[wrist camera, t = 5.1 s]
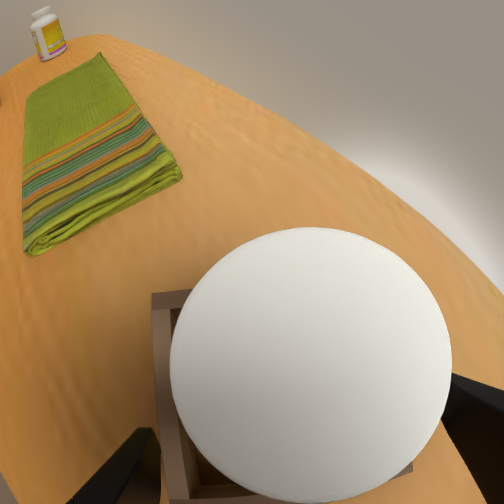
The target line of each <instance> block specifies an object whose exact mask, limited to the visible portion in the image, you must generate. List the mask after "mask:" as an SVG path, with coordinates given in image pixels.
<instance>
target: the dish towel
mask: <svg viewBox="0 0 504 504" xmlns="http://www.w3.org/2000/svg"><path fill="white" fill-rule="evenodd" d="M24 129H25V134H24V146H23V167H22V168H23V175H22V218H23V246H22V247H23V251H24V252H25V253H26V254H27V255H29V256H30V257H35V256H37V255H40V254H42V253H44V252H45V251H47V250H48V249H50V248H53V247H54V246H56V245H58V244H60V243H62V242H64V241H65V240H67V239H69V238H71V237H72V236H74V235H76V234H78V233H80V232H82V231H84V230H86V229H88V228H89V227H91V226H93V225H95V224H97V223H99V222H101V221H102V220H104V219H105V218H108V217H110V216H112V215H114V214H116V213H118V212H120V211H122V210H124V209H126V208H128V207H130V206H132V205H134V204H136V203H138V202H140V201H142V200H143V199H145V198H147V197H149V196H151V195H153V194H156V193H158V192H160V191H162V190H164V189H166V188H168V187H170V186H171V185H173V184H175V183H177V182H179V181H180V180H181V179H182V178H183V175H182V173H181V170H180V168H179V166H178V165H177V164H176V160H175V159H174V158H173V155H172V153H171V151H170V150H169V149H168V148H167V147H166V146H165V145H164V143H163V142H162V141H161V140H160V138H159V136H158V135H157V134H156V132H155V131H154V129H153V128H152V126H151V125H150V123H149V122H148V121H147V119H146V118H145V116H144V115H143V113H142V112H141V110H140V108H139V107H138V105H137V104H136V103H135V101H134V100H133V98H132V97H131V95H130V94H129V92H128V90H127V89H126V88H125V87H124V85H123V84H122V82H121V80H120V79H119V78H118V76H117V75H116V73H115V72H114V71H113V69H112V68H111V67H110V65H109V64H108V62H107V61H106V59H105V58H103V56H102V55H101V52H99V53H98V54H97V55H96V56H95V57H94V58H93V59H91V60H89V61H87V62H85V63H83V64H81V65H80V66H78V67H76V68H74V69H73V70H71V71H69V72H67V73H64V74H62V75H60V76H58V77H56V78H55V79H53V80H51V81H49V82H48V83H46V84H44V85H42V86H41V87H39V88H38V89H36V90H35V91H34V92H32V93H31V94H30V95H29V97H28V98H27V101H26V111H25V124H24Z"/></svg>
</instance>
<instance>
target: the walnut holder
mask: <svg viewBox="0 0 504 504" xmlns="http://www.w3.org/2000/svg"><path fill="white" fill-rule="evenodd" d="M192 290H193V289H188V290H179V291H170V292H160V293H152V341H153V363H154V379H155V393H156V405H157V416H158V425H159V434H160V443H161V451H162V458H163V465H164V472H165V478H166V484H167V490H168V496H169V502H170V504H306V503H294V502H286V501H281V500H276V499H271V498H268V497H266V496H263V495H260V494H257V493H255V492H252V491H250V490H248V489H246V488H244V487H242V486H240V485H238V484H237V483H234V484H221V485H203V486H201V484H200V478H199V472H198V465H197V458H196V451H195V444H194V443H193V441H192V440H191V438H190V437H189V435H188V434H187V432H186V430H185V428H184V426H183V424H182V421H181V419H180V417H179V415H178V411H177V408H176V405H175V402H174V399H173V394H172V387H171V380H170V349H171V344H172V338H173V333H174V329H175V326H176V323H177V320H178V317H179V315H180V312H181V310H182V308H183V306H184V304H185V302H186V300H187V298H188V296H189V295H190V293H191V292H192ZM412 471H413V466H412V461H411V462H410V463H409V464H408V465H407V466H406V467H405V468H404V469H403V470H401V471H400V472H399V473H398V474H397V475H395V476H394V477H392V478H391V479H389V480H392V479H395V478H397V477H400V476H402V475H405V474H407V473H410V472H412ZM389 480H388V481H389ZM386 482H387V481H386Z"/></svg>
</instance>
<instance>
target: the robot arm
mask: <svg viewBox="0 0 504 504" xmlns="http://www.w3.org/2000/svg"><path fill="white" fill-rule="evenodd" d="M441 421H442V423H443V425H444V427H445V429H446V431H447V433H448V435H449V437H450V438H451V440H452V442H453V443H454V445H455V447H456V448H457V450H458V452H459V453H460V455H461V457H462V459H463V460H464V462H465V464H466V466H467V467H468V469H469V471H470V473H471V475H472V476H473V478H474V480H475V482H476V484H477V485H478V487H479V489H480V491H481V493H482V495H483V497H484V499H485V500H486V502H487V504H504V390H501V389H498V388H495V387H492V386H489V385H486V384H483V383H480V382H477V381H474V380H471V379H468V378H465V377H463V376H460V375H457V374H454V373H451V382H450V389H449V394H448V398H447V401H446V405H445V408H444V412H443V414H442V416H441ZM160 495H161V449H160V444H159V442H158V440H157V438H156V435H155V433H154V431H153V429H152V428H150V427H139V428H137V429H136V430H135V431H134V432H133V433H132V434H131V435H130V437H129V438H128V439H127V440H126V441H125V442H124V443H123V444H122V445H121V446H120V447H119V448H118V450H117V451H116V452H115V453H114V454H113V455H112V456H111V457H110V458H109V459H108V460H107V461H106V462H105V463H104V464H103V465H102V467H101V468H100V469H99V470H98V471H97V472H96V473H95V474H94V475H93V476H92V477H91V478H90V479H89V480H88V481H87V482H86V483H85V484H84V485H83V486H82V487H81V489H80V490H79V491H78V492H77V493H76V494H75V495H74V496H73V499H72V498H71V499H70V500H69V501H68V502H67V503H66V504H160Z"/></svg>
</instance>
